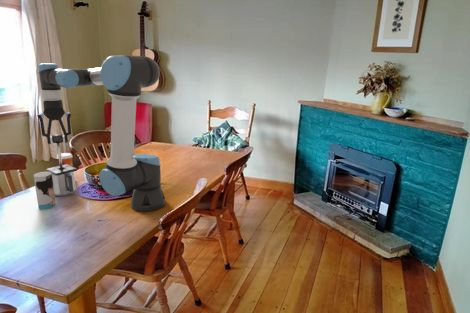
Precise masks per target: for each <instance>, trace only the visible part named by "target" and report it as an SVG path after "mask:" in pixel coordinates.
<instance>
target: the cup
mask: <svg viewBox="0 0 470 313" xmlns="http://www.w3.org/2000/svg"><path fill="white" fill-rule="evenodd" d="M33 182H34V187H35V188H34V189H35V193H36V201H37V206H38V209H39V210H41V211H45V210H47V211H48V210H51V209H52V210H53V208H55V207H57V202H56V200H57V199H56V197H55V193H54V186H53V178H52V173H51V172H47V171H40V172H36V173H34V174H33Z"/></svg>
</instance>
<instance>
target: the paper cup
mask: <svg viewBox="0 0 470 313" xmlns="http://www.w3.org/2000/svg"><path fill="white" fill-rule="evenodd" d="M61 158H62V165H66V164H67V165H70V166H72V167H74V166H73V154H72V153H71V152H63V153H62V152H61ZM56 159H57V166H60V165H59V157H58V154H57V155H56Z"/></svg>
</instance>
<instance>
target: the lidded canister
mask: <svg viewBox="0 0 470 313" xmlns="http://www.w3.org/2000/svg"><path fill="white" fill-rule="evenodd" d="M76 171H78V169H77V168H76V167H74V166H73V167H72V166H70V165H67V164H66V165H63V169H62V170H60V166H58V165H57V166H53V167H49V168H46V169H45V172H51V173H52V178H53V186H54V193H55V198H62V197H63V198H65V197H70V196H73V195H74V194H76V193H77V188H76V182H75V172H76Z"/></svg>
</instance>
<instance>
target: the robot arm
mask: <svg viewBox="0 0 470 313" xmlns="http://www.w3.org/2000/svg"><path fill="white" fill-rule="evenodd" d="M160 72H161V71H160V67H159V64H158V63H157V62H156V61H155V59H153V58H150V57H149V56H146V55H126V54H118V55H110V56H107V57H106V59H105V60H103V63H102V64H101V67H94V68H92V67H91V68H59V66H58V64H57V63H45V62H44V63H39V64H38V76H39V82H40V88H41V89H40V90H41V97H42V100H43V101H42V103H43V112H42V113H38V114H37V115H36V116H37V118H38V120H39V125H40V130H41V136H42V137H46V139H47V144H48V145H50V148H51V149H50V150H51V152H54V143H53V141H52V135H51V131H52V123H53V122H54V121H58V123H59V125H60V127H61V130H62V133H63V134H62V135H63V142H62V143H63V148H64V149H63V150H64V151H67V146H66V144H67V143H68V142H69V140H68V136H70V135H72V128H71V116H72V113H71V112H67V111H65V110H64V103H63V100H62V98H63V97H62V88H64V89H71V88H77V87H79V88H80V87H98V86H103V87H104V88H106V89H107V93H108V95H109V96H110V97H111V117H110V118H111V119H110V120H111V121H110V125H111V126H110V128H111V129H110V157H108V158H107V159H106V162H105V168H102V169H101V170H100V172H99V173H98V174H99V175H98V176H99V177H98V178H99V183H100V185H101V187H102V188H103V190H104V191H105V192H106V193H107V194H108V195H110V196H112V197H113V196H114V197H117V196H120V195H125V194H126V193H129V192H131V191H132V195H131V196H132V197H131V199H130V208H132V209H133V210H134V211H138V212H152V211H153V212H154V211H157V210H160V209H162V208H163V207H164V206H166V197H165V194H164V192H163V189H162V182H161V181H162V179H161V178H162V177H161V160H160V157H159V156H158V155H155V154H150V153H136V154H134V153H135V135H136V134H135V132H136V116H137V114H136V113H137V100H138V99H139V98H140V97H142V89H143V88H149V87H152V86H154V85H155V84H156V83H158V80H159V79H160V74H161V73H160ZM64 115H65V117H66V123H67V129H66V127H65V125H64V122H63V119H62V118H63V116H64ZM44 117H46V118H47V119H48V124H47V131H46V129H45V125H44ZM66 130H67V131H66Z"/></svg>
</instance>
